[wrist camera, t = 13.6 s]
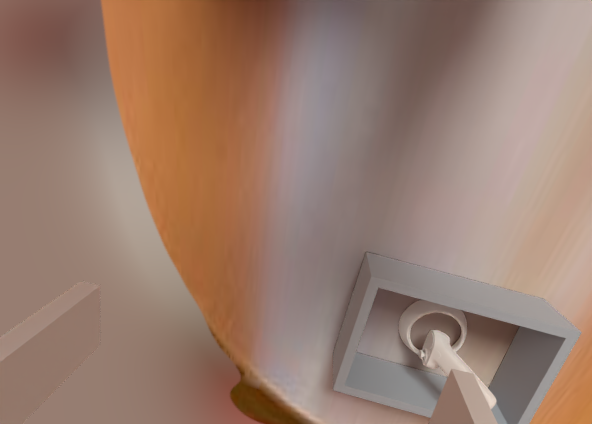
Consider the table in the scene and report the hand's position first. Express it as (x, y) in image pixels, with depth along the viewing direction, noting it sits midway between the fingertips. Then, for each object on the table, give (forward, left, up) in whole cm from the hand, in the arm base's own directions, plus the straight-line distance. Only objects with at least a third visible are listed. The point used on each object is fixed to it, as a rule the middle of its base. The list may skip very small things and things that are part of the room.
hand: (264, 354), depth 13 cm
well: (+12, +17, -26) cm, 33 cm away
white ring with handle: (+12, +17, -26) cm, 33 cm away
